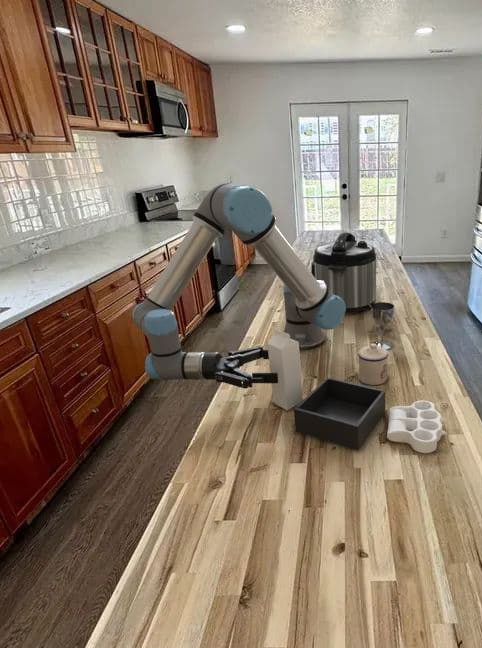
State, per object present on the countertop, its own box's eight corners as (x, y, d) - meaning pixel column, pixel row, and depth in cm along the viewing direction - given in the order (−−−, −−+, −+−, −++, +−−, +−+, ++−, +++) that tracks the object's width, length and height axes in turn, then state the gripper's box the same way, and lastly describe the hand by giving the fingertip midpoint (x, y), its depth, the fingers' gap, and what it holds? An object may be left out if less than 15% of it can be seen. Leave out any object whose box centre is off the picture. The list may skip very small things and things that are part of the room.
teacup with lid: (386, 386, 130) (387, 351, 125) (356, 385, 131) (356, 350, 126) (388, 367, 141) (389, 335, 136) (360, 366, 142) (360, 333, 137)
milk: (287, 411, 120) (280, 338, 110) (273, 403, 124) (265, 332, 114) (303, 401, 124) (298, 331, 114) (289, 394, 128) (283, 325, 118)
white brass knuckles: (390, 408, 120) (444, 412, 118) (386, 450, 104) (448, 455, 102) (390, 398, 118) (445, 401, 116) (386, 438, 102) (450, 443, 100)
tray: (328, 398, 125) (327, 377, 122) (385, 412, 118) (385, 390, 115) (295, 431, 111) (293, 408, 108) (358, 450, 104) (357, 426, 101)
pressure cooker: (347, 290, 214) (346, 224, 200) (391, 304, 195) (393, 232, 181) (299, 306, 195) (294, 234, 181) (342, 322, 176) (340, 244, 163)
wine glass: (396, 343, 157) (398, 304, 151) (386, 352, 151) (387, 311, 145) (377, 339, 161) (377, 300, 155) (366, 347, 155) (366, 307, 149)
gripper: (219, 357, 132) (289, 357, 131) (191, 402, 110) (275, 402, 109) (216, 334, 129) (287, 334, 128) (186, 376, 106) (272, 376, 106)
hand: (282, 365), depth 118 cm, fingers open, 13 cm apart
